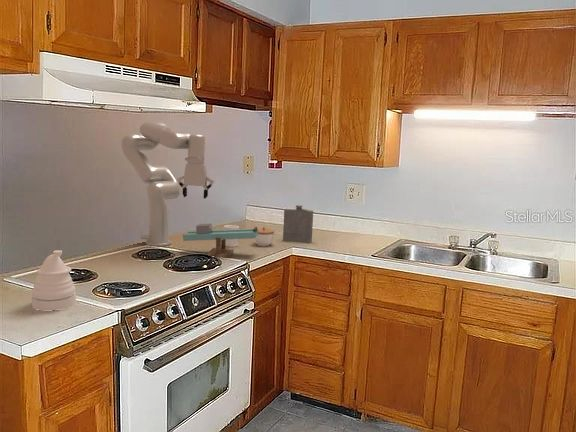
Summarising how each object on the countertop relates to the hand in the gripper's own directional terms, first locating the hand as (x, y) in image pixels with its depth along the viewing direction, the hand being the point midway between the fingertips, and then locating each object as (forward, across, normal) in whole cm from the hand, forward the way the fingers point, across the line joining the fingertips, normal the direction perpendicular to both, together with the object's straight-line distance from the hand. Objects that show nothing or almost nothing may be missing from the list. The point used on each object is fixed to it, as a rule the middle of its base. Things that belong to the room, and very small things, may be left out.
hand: (195, 197), depth 242 cm
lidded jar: (+26, +30, +25) cm, 47 cm away
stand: (+26, +14, -1) cm, 29 cm away
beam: (+19, +14, -1) cm, 24 cm away
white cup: (+26, +14, +19) cm, 35 cm away
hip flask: (+26, +47, +39) cm, 67 cm away
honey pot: (+26, -22, -84) cm, 91 cm away
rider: (+17, +6, -1) cm, 18 cm away
